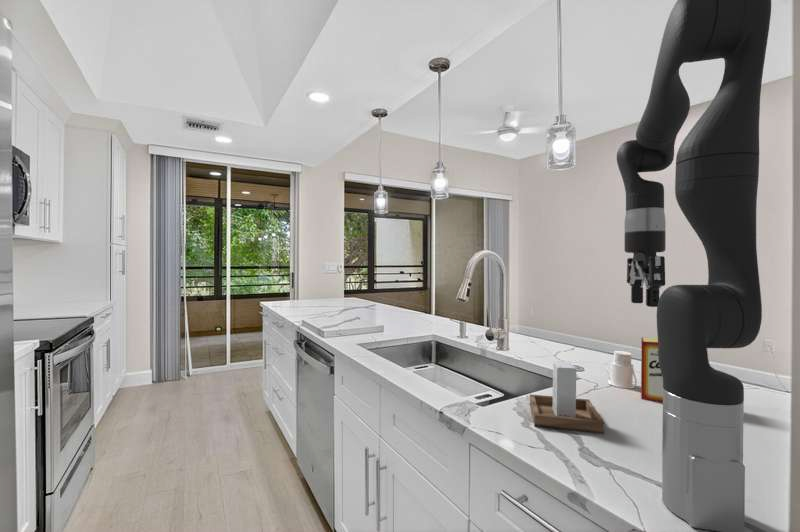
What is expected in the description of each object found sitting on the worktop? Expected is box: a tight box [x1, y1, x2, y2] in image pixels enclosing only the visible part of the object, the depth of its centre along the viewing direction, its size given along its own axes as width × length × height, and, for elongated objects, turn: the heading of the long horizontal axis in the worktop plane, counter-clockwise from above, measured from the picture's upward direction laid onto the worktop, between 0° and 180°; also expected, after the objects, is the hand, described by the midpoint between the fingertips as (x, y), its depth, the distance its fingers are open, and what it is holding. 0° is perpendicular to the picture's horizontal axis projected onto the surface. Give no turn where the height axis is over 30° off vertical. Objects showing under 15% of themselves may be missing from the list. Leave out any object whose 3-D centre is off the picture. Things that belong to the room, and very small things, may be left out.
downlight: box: [606, 350, 637, 390], centre depth 113 cm, size 8×7×10 cm
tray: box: [529, 393, 605, 435], centre depth 89 cm, size 14×14×2 cm
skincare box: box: [552, 360, 577, 418], centre depth 89 cm, size 6×4×12 cm
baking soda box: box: [640, 337, 663, 403], centre depth 102 cm, size 10×6×16 cm
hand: (644, 304), depth 82 cm, fingers open, 8 cm apart
